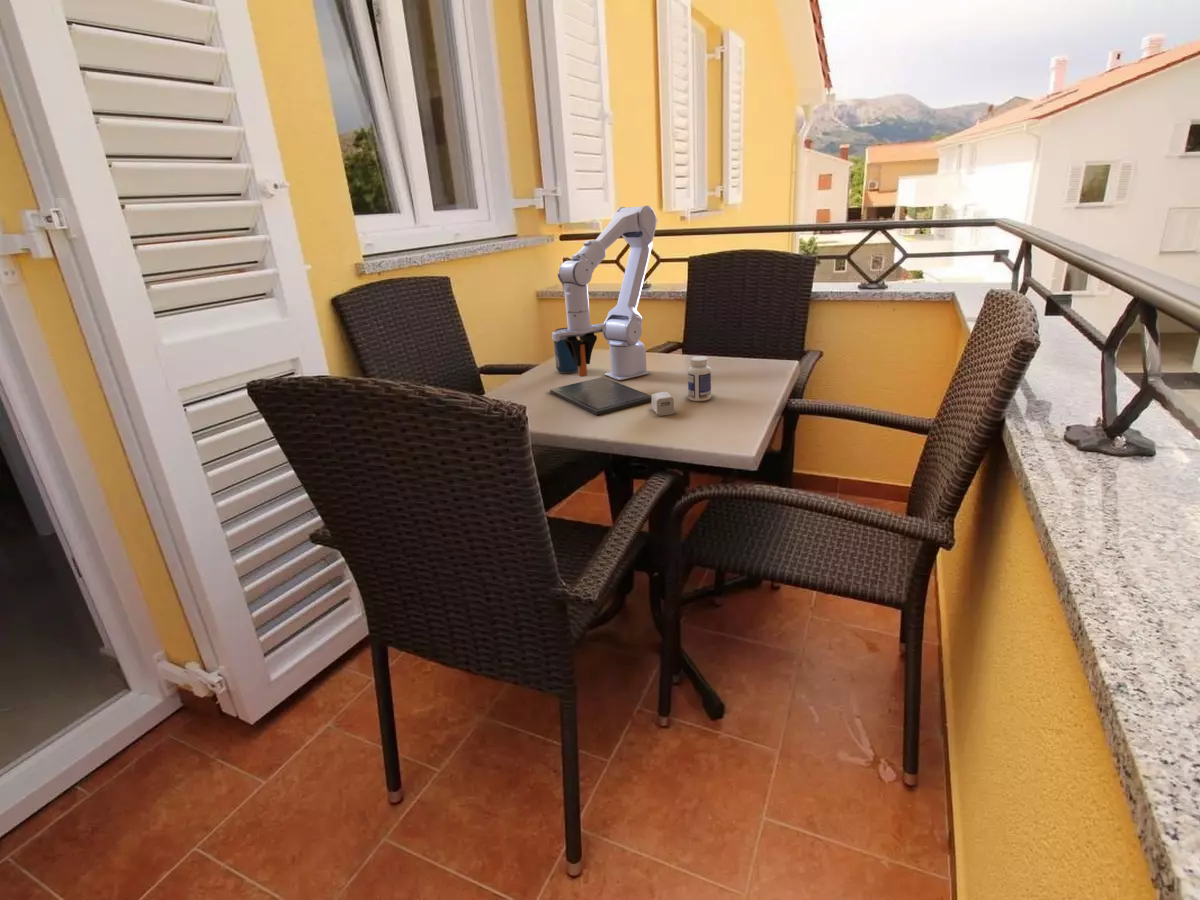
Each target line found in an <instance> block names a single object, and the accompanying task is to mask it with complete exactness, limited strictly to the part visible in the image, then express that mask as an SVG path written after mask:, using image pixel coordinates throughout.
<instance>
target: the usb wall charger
mask: <svg viewBox="0 0 1200 900" xmlns="http://www.w3.org/2000/svg"><path fill="white" fill-rule="evenodd" d="M651 409H652V411H654V413H656V415H657V416H659V417H661V416H668V415H673V414H674V413H675V398H674V397H673V396H672V395H670V394H669V393H668V392H667V391H661V392H660V391H659V392H654V393H652V394H651Z"/></svg>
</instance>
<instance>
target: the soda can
mask: <svg viewBox="0 0 1200 900" xmlns="http://www.w3.org/2000/svg"><path fill="white" fill-rule="evenodd" d="M564 329H568V327H561V328H556V329H555V330H554V332H558V331H561V330H564ZM576 338H578V339H579V337H576ZM553 348H554V350H553V351H554V358H555V368H556V370H557V371H558V373H560V374H573V373H576V372H579V371H578V366H576V365H574V361H573V358H572V355H571V353H570V351H569V349H568V347H567V345H566V344H565V342H564V340H560V341H553Z"/></svg>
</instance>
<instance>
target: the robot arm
mask: <svg viewBox="0 0 1200 900" xmlns="http://www.w3.org/2000/svg"><path fill="white" fill-rule="evenodd" d="M657 224H658V219H657V216H656V212H655V210H654V209H653V207H652V206H651V205H643V206H628V207H626V206H620V207H618V208H617V209H616V211H615V212H613V213H612V215H611V220H610V221H609V223H608V224H607V225H606V227H604V229H602V231H601V232H600V234H599V235H598V236H597V237H596V239H588V240H585V241H584V242H583V246H582V247H581V248H580V249H579V250H578V251H577V252H576V253H574V254H573V255H572V258H571V259H570V260H565V261H564V262H563V263H562V264H561V265H560V266H559V269H558V273H557V278H558V281H559V283H561V286H562V291H563V292H564V300H565V301H564V302H565V312H566V313H565V314H566V322H567V328H568V329H564V330H561V331H558V332H555V331H554V332H551V338H552V341H553V342H554V341H560V340H564V342H565V344H566V345H567V347H568V349H569V351H570V353H571V355H572V358H573V361H574V365H576V366H581V359H580V345H581V341H580V340H585V352H586V364H587V365H590V364H591V359H592V353H593V350H594V346H595V344H596V342H597V339H598V336H597V334H599V333H602V336H603V338H604V340H606V344H608V345H609V359H610V360H609V361H610V371H609V372H606V373H604V375H605V376H607V377H609V378H612V379H615V380H618V381H623V380H628V379H632V378H636V377H637V378H638V377H641V376H645V375H649V371H648V370H647V367H648V366H647V350H646V346H645V344H644V343H643V341H641V340H640V339H641V337H642V333H643V329H642V324H643V317H642V315H641V314H640V312H639V311H638V305H639V302H640V297H641V293H642V288H643V286H644V281H645V277H646V272H647V269H648V265H649V261H650V257H651V253H652V248H653V241H654V237H655V232H656V228H657ZM620 237H622V238H623V240H624V242H626V243H627V244H628V245H629V247H630V249H629V252H628V253H629V254H628V257H627V261H626V266H625V270H624V273H623V277H622V278H623V279H622V282H621V287H620V291H619V295H618V299H617V304H616V305H615V306H614V307H613V308H611V309H610V310H609V311H608V312H607V316H606V318H605V320H604V322H603V323H596V324H591V315H590V304H589V303H590V302H589V290H588V289H589V287H588V284H589V283H590V282H591V281H592V278H593V273H594V272H595V269H596V268H597V267H598V266H599V265H600V264H601V263H602V262H603V260H604V259H605V258H606V256H607V249H608V248H610V247H611V246H612V245H613V244H614V243H615V242H616V241H617V240H618V239H620ZM576 337H578V338H576Z"/></svg>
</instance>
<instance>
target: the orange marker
mask: <svg viewBox="0 0 1200 900" xmlns="http://www.w3.org/2000/svg"><path fill="white" fill-rule="evenodd" d="M579 340H580V339H579ZM580 341H581V345H580V359H581V366H578V371H577V372H578V377H580V378H581V377H583V378H584V377H587V376H588V366H587V365H588V364H586V352H585V340H580Z"/></svg>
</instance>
